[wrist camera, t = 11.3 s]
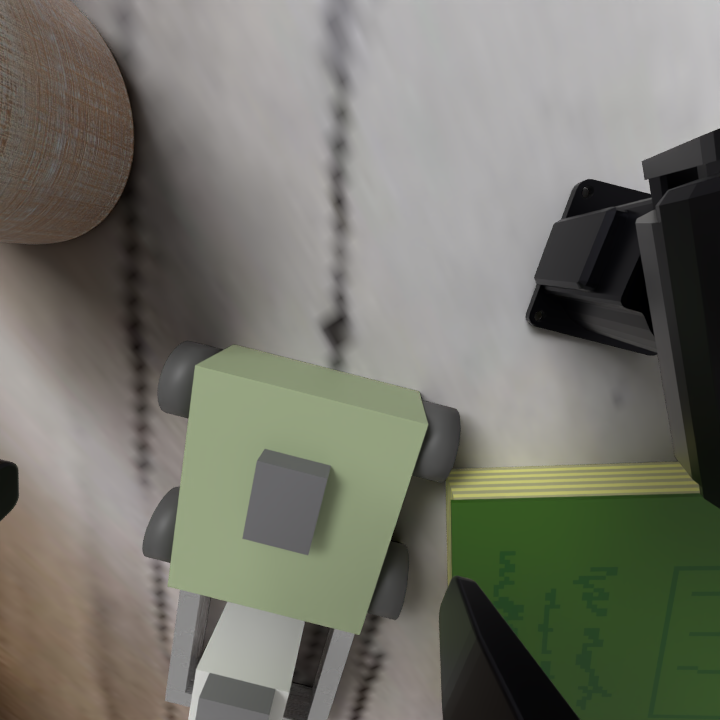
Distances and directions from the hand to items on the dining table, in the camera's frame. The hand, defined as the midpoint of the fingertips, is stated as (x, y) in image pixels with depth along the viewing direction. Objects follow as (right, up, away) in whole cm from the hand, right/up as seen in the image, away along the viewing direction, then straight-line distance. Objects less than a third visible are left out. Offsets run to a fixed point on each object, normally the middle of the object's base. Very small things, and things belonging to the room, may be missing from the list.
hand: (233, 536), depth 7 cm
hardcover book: (+20, -10, +15) cm, 27 cm away
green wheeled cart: (-1, -3, +13) cm, 13 cm away
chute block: (-3, -13, +16) cm, 21 cm away
